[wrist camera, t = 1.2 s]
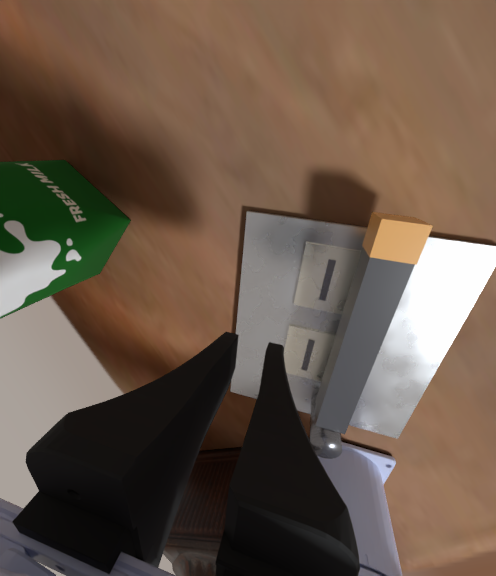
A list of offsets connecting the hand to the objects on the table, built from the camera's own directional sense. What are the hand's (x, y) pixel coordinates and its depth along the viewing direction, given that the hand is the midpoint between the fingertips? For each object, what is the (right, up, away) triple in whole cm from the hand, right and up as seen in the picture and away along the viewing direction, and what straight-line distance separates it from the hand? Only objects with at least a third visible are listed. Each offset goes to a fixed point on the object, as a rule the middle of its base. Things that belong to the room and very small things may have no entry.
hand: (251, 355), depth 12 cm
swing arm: (+7, 0, +6) cm, 10 cm away
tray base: (+7, -1, +9) cm, 11 cm away
